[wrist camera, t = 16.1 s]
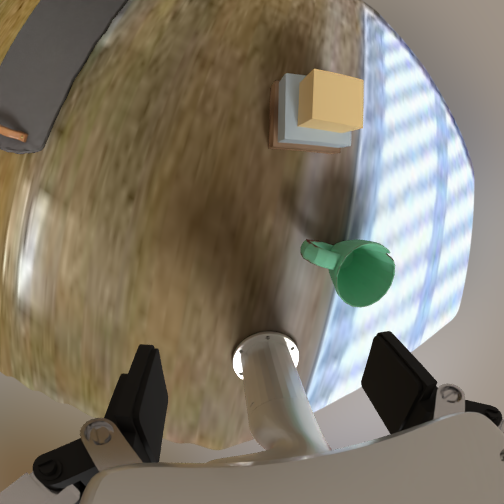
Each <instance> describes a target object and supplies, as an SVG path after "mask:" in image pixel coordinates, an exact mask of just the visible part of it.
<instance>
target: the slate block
mask: <svg viewBox="0 0 504 504" xmlns="http://www.w3.org/2000/svg"><path fill="white" fill-rule="evenodd" d="M305 77H306V75H298V74H290V73H285V75H284V76H283V78H282V79H281V80H280V82H279V104H278V142H280V143H294V144H306V145H317V146H326V147H335V148H340V147H348V146H351V131H349V132H345V133H337V132H332V131H325V130H319V129H312V128H305V127H298V126H297V124H298V105H299V83H300V82H301V81H302V80H303V79H304V78H305Z"/></svg>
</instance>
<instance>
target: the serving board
mask: <svg viewBox="0 0 504 504" xmlns="http://www.w3.org/2000/svg"><path fill="white" fill-rule="evenodd" d="M127 1H128V0H41V1H40V2H39V3H38V5H37V6H36V8H35V9H34V10H33V12H32V13H31V15H30V16H29V18H28V19H27V21H26V23H25V24H24V25H23V27H22V29H21V30H20V31H19V33H18V35H17V36H16V38H15V40H14V42H13V43H12V45H11V47H10V49H9V51H8V52H7V54H6V56H5V58H4V60H3V62H2V63H1V66H0V149H1V150H4V151H7V152H14V153H17V154H24V153H31V152H32V153H35V152H38V151H41V150H42V149H43V148H44V146H45V144H46V142H47V140H48V137H49V135H50V132H51V129H52V127H53V125H54V122H55V120H56V118H57V116H58V114H59V111H60V109H61V107H62V105H63V103H64V101H65V100H66V98H67V96H68V93H69V91H70V88H71V86H72V84H73V82H74V80H75V78H76V77H77V75H78V74H79V72H80V71H81V69H82V68H83V66H84V64H85V63H86V62H87V59H88V57H89V55H90V53H91V52H92V51H93V49H94V47H95V45H96V44H97V42H98V41H99V40H100V39H101V37H102V35H103V34H105V33H106V31H107V29H108V28H109V25H110V23H111V22H112V20H113V19H114V18H115V17H116V16H117V14H118V12H119V11H120V10H121V9H122V8H123V6H124V5H125V4H126V3H127Z"/></svg>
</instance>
